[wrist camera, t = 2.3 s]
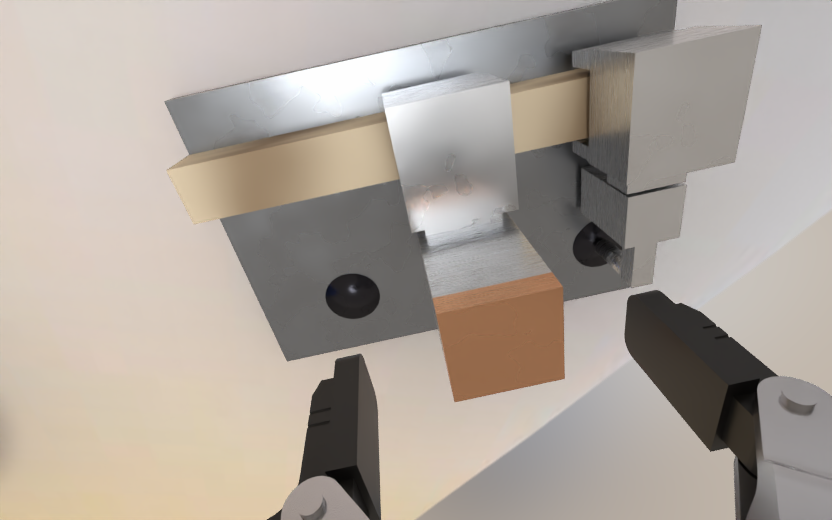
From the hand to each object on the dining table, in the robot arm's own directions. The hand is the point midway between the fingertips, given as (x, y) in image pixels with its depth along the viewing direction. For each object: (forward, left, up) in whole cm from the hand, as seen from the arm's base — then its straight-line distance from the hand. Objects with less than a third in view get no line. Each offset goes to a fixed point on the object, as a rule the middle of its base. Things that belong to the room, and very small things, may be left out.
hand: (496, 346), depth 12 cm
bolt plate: (0, 0, -11) cm, 11 cm away
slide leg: (0, -1, -10) cm, 10 cm away
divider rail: (0, -4, -10) cm, 11 cm away
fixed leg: (-8, -1, -10) cm, 13 cm away
